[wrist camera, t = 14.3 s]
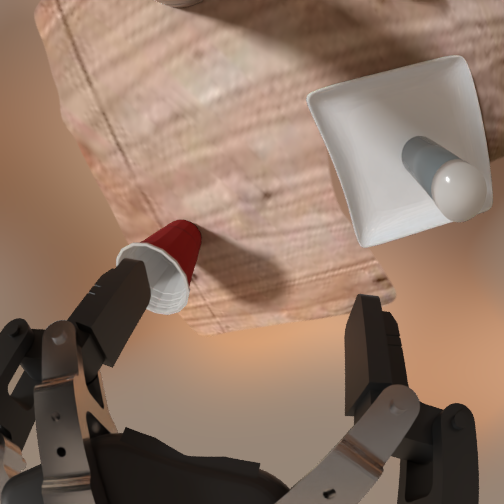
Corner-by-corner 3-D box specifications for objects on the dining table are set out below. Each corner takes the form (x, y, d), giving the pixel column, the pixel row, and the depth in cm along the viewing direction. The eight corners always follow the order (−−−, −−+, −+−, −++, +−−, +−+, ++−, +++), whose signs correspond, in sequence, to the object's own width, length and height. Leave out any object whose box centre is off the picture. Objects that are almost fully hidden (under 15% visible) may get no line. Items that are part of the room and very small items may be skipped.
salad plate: (485, 200, 32) (495, 210, 29) (357, 239, 40) (360, 252, 37) (453, 53, 23) (465, 53, 20) (302, 94, 31) (301, 95, 28)
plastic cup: (182, 188, 40) (141, 230, 31) (231, 243, 44) (206, 296, 34) (140, 227, 46) (100, 270, 36) (185, 273, 49) (156, 324, 39)
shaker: (405, 129, 28) (447, 157, 18) (443, 142, 27) (493, 174, 18) (396, 171, 30) (429, 215, 21) (433, 181, 30) (474, 227, 20)
